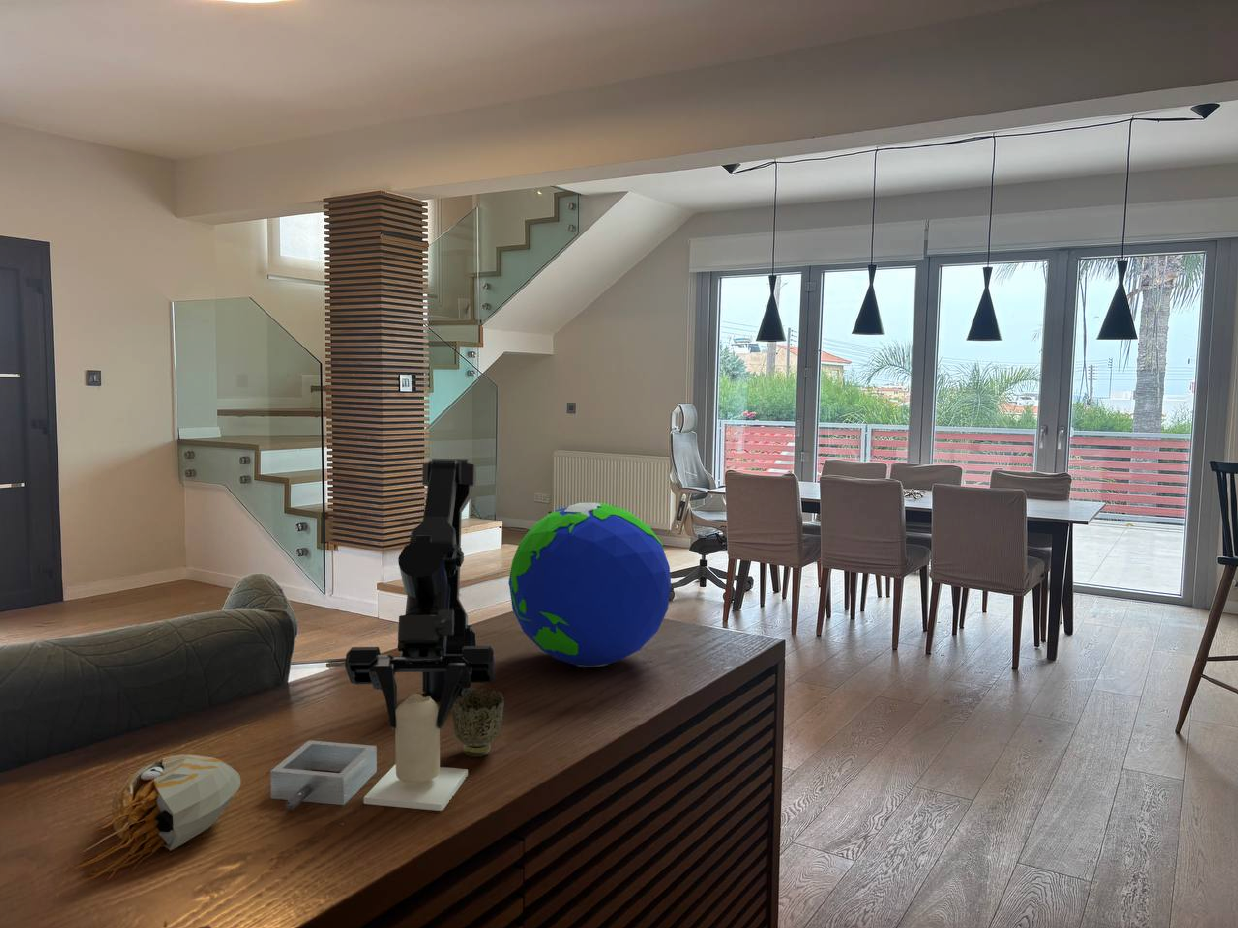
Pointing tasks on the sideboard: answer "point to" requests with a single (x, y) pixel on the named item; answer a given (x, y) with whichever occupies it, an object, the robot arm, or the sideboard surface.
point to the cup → (477, 720)
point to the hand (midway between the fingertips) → (416, 727)
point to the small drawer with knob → (323, 773)
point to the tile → (417, 790)
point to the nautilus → (168, 804)
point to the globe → (590, 584)
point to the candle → (417, 739)
